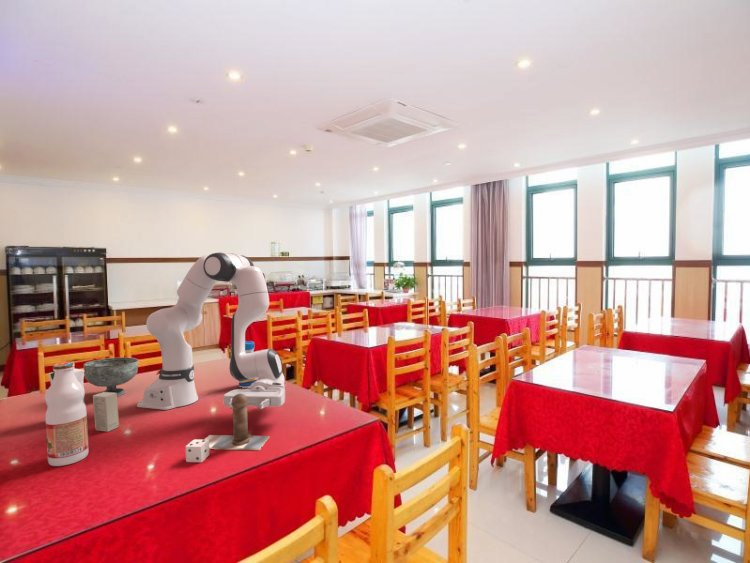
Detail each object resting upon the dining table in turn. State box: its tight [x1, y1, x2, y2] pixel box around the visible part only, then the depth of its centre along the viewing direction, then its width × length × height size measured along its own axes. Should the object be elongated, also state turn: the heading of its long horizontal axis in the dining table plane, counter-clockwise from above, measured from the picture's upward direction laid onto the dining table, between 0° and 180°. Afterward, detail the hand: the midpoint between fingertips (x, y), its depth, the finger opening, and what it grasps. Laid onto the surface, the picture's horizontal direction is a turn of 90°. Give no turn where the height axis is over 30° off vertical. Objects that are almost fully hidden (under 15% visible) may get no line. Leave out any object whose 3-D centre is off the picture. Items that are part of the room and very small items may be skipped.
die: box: [185, 438, 210, 463], centre depth 115 cm, size 5×5×5 cm
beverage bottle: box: [238, 340, 258, 389], centre depth 183 cm, size 8×8×20 cm
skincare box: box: [92, 391, 120, 432], centre depth 137 cm, size 6×4×12 cm
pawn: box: [231, 394, 250, 445], centre depth 124 cm, size 5×5×15 cm
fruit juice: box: [44, 361, 90, 467], centre depth 116 cm, size 9×9×28 cm
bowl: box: [83, 356, 140, 397], centre depth 174 cm, size 20×19×15 cm
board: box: [203, 434, 270, 451], centre depth 124 cm, size 20×9×1 cm, turn 85°
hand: (245, 406), depth 129 cm, fingers open, 8 cm apart
